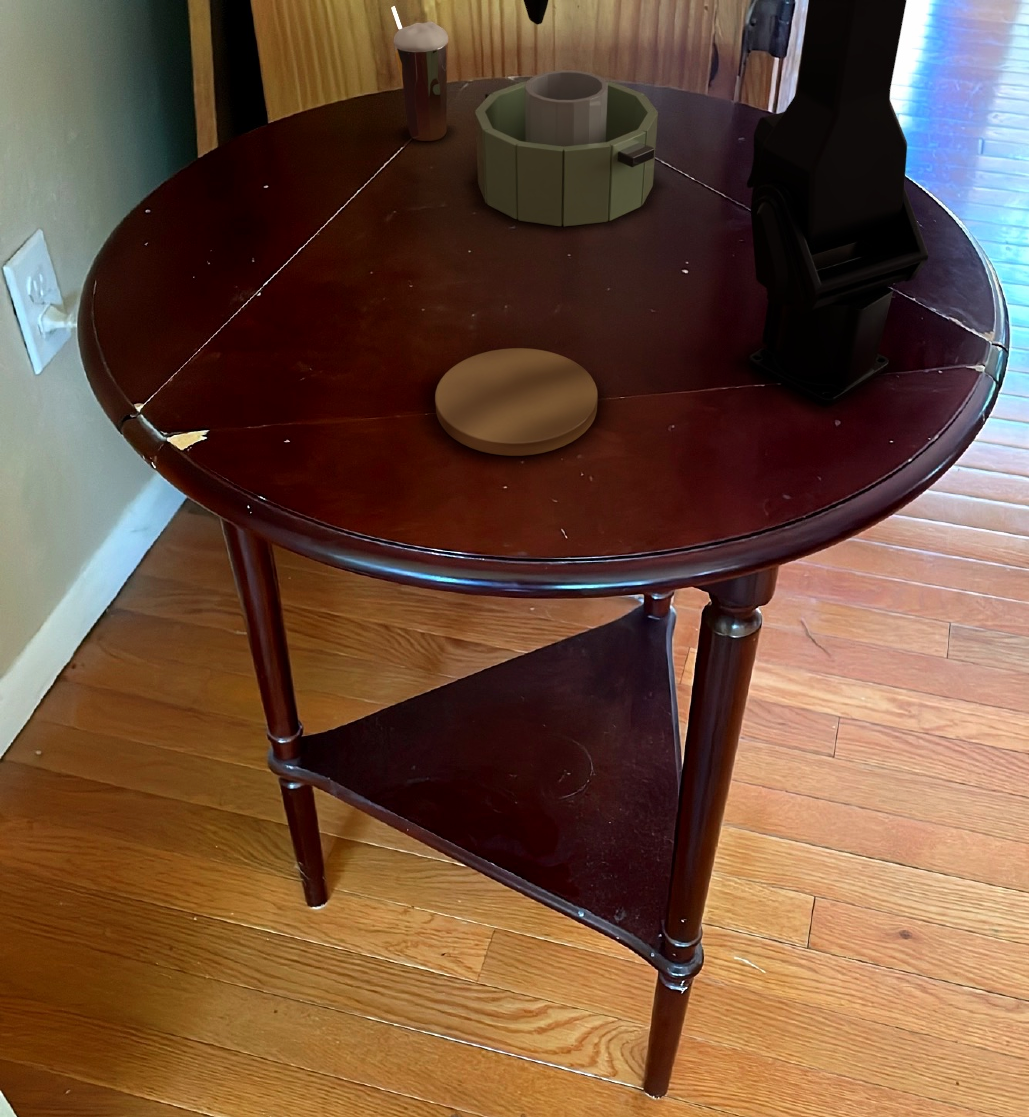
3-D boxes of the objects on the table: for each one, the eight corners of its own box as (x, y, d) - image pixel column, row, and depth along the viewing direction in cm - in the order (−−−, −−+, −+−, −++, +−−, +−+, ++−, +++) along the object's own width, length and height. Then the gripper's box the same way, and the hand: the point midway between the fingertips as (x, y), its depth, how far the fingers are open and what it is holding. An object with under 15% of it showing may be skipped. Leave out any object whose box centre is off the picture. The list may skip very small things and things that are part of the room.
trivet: (630, 408, 69) (631, 395, 69) (509, 479, 65) (508, 465, 64) (522, 342, 75) (522, 330, 74) (403, 403, 70) (402, 390, 69)
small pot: (619, 185, 91) (624, 85, 86) (563, 210, 88) (564, 108, 83) (566, 161, 95) (568, 63, 89) (510, 184, 92) (508, 85, 86)
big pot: (699, 192, 90) (707, 118, 86) (575, 250, 84) (576, 173, 79) (556, 129, 99) (557, 59, 95) (434, 177, 93) (429, 105, 89)
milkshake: (420, 116, 102) (411, -1, 95) (464, 132, 99) (458, 12, 92) (384, 133, 99) (373, 13, 92) (428, 149, 97) (419, 27, 90)
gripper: (630, -294, 79) (609, -57, 91) (409, -256, 71) (418, -3, 83) (742, -255, 73) (704, -8, 85) (515, -209, 66) (509, 55, 77)
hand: (584, 6), depth 83 cm, fingers open, 9 cm apart
